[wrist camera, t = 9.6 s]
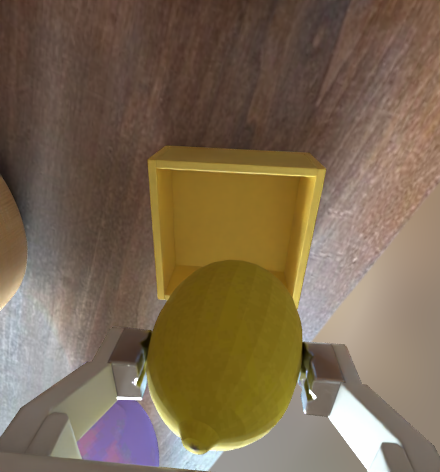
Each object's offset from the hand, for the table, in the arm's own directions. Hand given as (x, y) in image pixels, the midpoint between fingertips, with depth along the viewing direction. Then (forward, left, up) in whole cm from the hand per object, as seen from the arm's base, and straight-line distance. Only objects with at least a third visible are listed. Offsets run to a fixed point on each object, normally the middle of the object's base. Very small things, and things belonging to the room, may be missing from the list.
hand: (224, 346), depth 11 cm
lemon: (-1, 0, -4) cm, 4 cm away
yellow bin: (0, 0, -13) cm, 13 cm away
